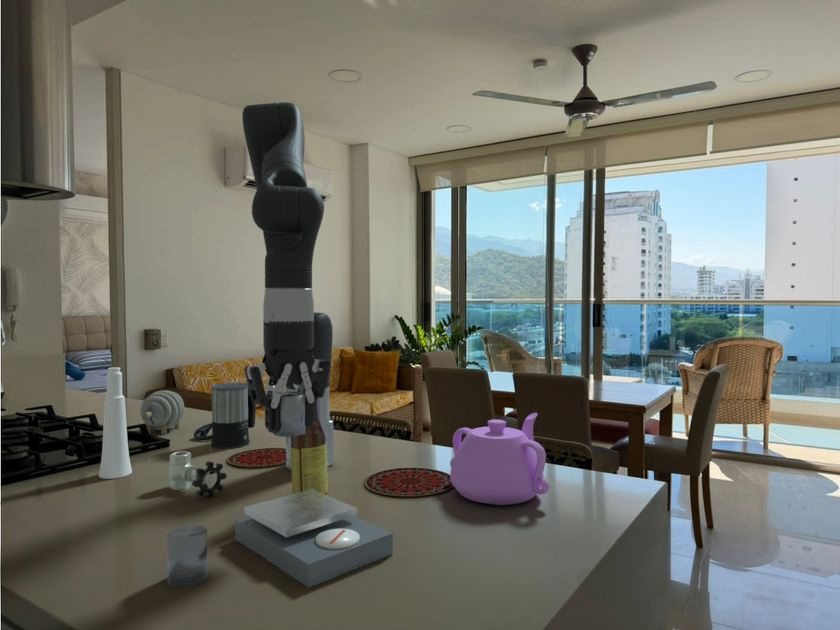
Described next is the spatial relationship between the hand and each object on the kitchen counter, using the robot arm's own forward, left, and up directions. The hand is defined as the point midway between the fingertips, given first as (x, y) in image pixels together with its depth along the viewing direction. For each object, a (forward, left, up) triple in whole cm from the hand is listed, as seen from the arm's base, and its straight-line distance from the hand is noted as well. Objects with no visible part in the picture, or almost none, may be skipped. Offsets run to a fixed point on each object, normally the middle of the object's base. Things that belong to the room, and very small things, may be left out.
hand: (289, 428), depth 89 cm
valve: (+3, -30, -17) cm, 35 cm away
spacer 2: (0, 0, -1) cm, 1 cm away
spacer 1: (+17, +3, -16) cm, 24 cm away
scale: (0, +6, -16) cm, 17 cm away
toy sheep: (-11, -84, -17) cm, 86 cm away
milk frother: (-18, -62, -17) cm, 67 cm away
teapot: (-40, +10, -17) cm, 44 cm away
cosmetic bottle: (+10, -51, -17) cm, 54 cm away
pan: (0, +3, -12) cm, 13 cm away
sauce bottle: (-10, -10, -17) cm, 22 cm away
